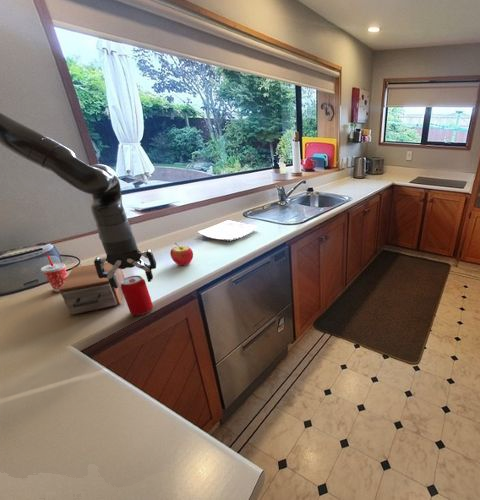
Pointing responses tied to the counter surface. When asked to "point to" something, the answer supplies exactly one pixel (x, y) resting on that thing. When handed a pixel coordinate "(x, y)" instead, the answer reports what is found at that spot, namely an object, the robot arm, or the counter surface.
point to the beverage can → (136, 295)
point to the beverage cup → (55, 274)
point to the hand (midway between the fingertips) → (133, 283)
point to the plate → (228, 230)
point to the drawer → (89, 298)
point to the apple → (181, 255)
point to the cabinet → (92, 280)
